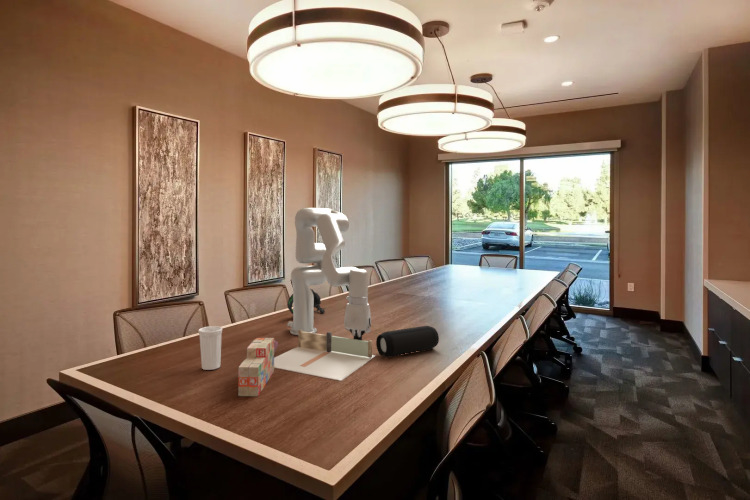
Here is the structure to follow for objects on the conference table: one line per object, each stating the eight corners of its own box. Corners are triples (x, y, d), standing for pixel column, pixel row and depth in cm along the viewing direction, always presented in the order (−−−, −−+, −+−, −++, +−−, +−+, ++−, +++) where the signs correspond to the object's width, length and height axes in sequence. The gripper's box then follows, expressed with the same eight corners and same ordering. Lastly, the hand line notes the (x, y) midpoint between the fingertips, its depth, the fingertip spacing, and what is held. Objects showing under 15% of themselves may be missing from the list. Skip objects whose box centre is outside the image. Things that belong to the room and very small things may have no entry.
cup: (208, 373, 143) (207, 333, 142) (194, 368, 147) (193, 329, 146) (227, 366, 150) (227, 328, 149) (213, 362, 154) (212, 324, 153)
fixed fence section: (297, 347, 173) (297, 328, 172) (300, 345, 175) (300, 327, 174) (329, 352, 166) (329, 333, 166) (332, 351, 168) (332, 332, 168)
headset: (318, 328, 234) (285, 313, 214) (309, 315, 242) (276, 299, 223) (337, 306, 233) (305, 289, 214) (327, 293, 242) (295, 276, 222)
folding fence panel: (331, 351, 166) (331, 335, 166) (333, 350, 168) (333, 334, 167) (370, 357, 159) (371, 341, 158) (372, 356, 160) (372, 340, 160)
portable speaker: (425, 345, 179) (425, 322, 178) (440, 351, 171) (440, 328, 170) (374, 354, 166) (375, 330, 166) (387, 361, 158) (388, 336, 157)
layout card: (260, 365, 152) (260, 364, 152) (303, 344, 177) (303, 343, 177) (341, 381, 138) (341, 380, 138) (375, 356, 163) (375, 355, 163)
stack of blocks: (258, 397, 125) (258, 357, 124) (237, 396, 125) (237, 357, 124) (274, 371, 147) (274, 337, 146) (256, 371, 147) (256, 337, 146)
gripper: (337, 300, 163) (336, 345, 164) (371, 303, 157) (370, 351, 158) (345, 297, 170) (345, 340, 171) (379, 300, 164) (378, 345, 165)
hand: (357, 345), depth 165 cm, fingers closed
